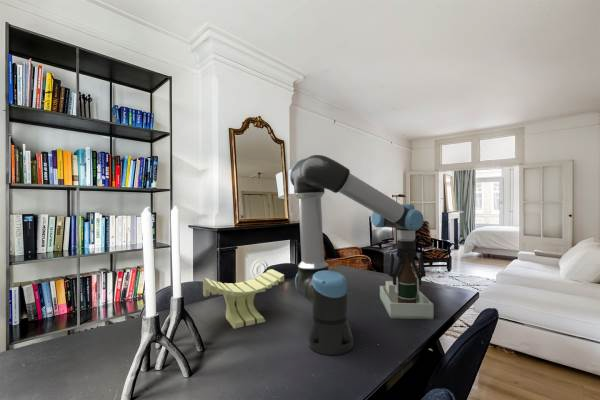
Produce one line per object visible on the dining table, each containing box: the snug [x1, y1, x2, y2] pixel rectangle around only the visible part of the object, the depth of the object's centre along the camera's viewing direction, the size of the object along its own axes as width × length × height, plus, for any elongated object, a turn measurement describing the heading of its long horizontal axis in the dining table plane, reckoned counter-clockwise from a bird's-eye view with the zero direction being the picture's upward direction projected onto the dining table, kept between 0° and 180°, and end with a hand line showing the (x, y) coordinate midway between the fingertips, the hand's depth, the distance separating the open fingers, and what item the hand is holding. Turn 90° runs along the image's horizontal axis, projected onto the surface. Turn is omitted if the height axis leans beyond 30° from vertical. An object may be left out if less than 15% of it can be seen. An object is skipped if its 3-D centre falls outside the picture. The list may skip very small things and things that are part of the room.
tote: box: [379, 285, 435, 320], centre depth 132 cm, size 17×26×6 cm, turn 174°
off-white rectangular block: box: [385, 280, 398, 303], centre depth 139 cm, size 12×8×8 cm, turn 84°
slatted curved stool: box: [202, 268, 285, 330], centre depth 123 cm, size 30×16×18 cm, turn 119°
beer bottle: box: [397, 252, 417, 303], centre depth 126 cm, size 8×8×24 cm
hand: (407, 292), depth 126 cm, fingers closed on beer bottle, 8 cm apart
